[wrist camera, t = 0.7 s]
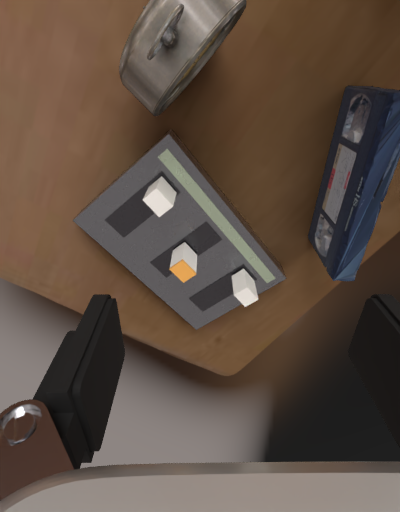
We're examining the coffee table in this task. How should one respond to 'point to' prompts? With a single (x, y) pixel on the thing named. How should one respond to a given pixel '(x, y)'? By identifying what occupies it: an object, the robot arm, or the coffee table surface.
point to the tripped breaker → (183, 262)
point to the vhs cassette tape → (356, 177)
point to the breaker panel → (179, 233)
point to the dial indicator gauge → (173, 46)
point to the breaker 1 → (160, 196)
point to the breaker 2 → (244, 288)
